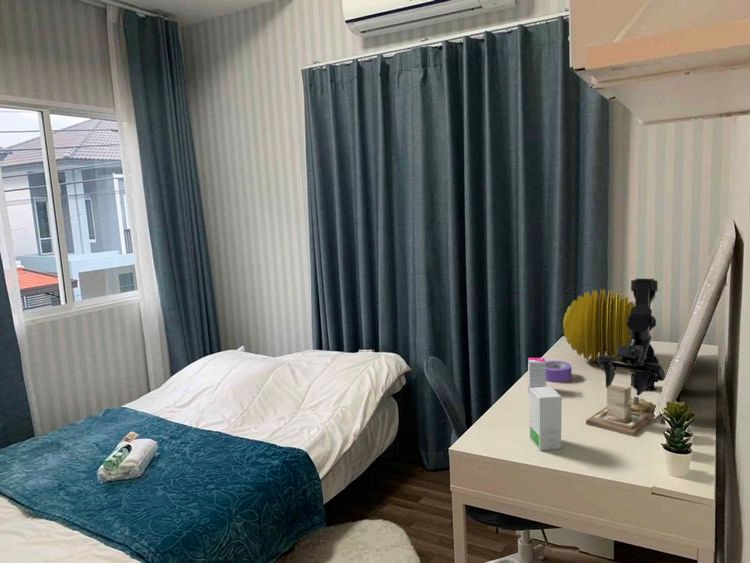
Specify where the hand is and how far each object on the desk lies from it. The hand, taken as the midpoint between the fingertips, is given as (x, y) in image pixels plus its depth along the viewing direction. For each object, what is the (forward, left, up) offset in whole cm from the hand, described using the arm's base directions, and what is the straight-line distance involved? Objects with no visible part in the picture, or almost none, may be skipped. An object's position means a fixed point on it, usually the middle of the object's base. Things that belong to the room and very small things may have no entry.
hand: (622, 391), depth 169 cm
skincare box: (+27, +14, -9) cm, 31 cm away
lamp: (-15, -57, -9) cm, 60 cm away
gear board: (-2, -2, -9) cm, 9 cm away
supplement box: (+19, -29, -9) cm, 36 cm away
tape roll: (+9, -42, -9) cm, 44 cm away
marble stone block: (+2, +2, -8) cm, 8 cm away
